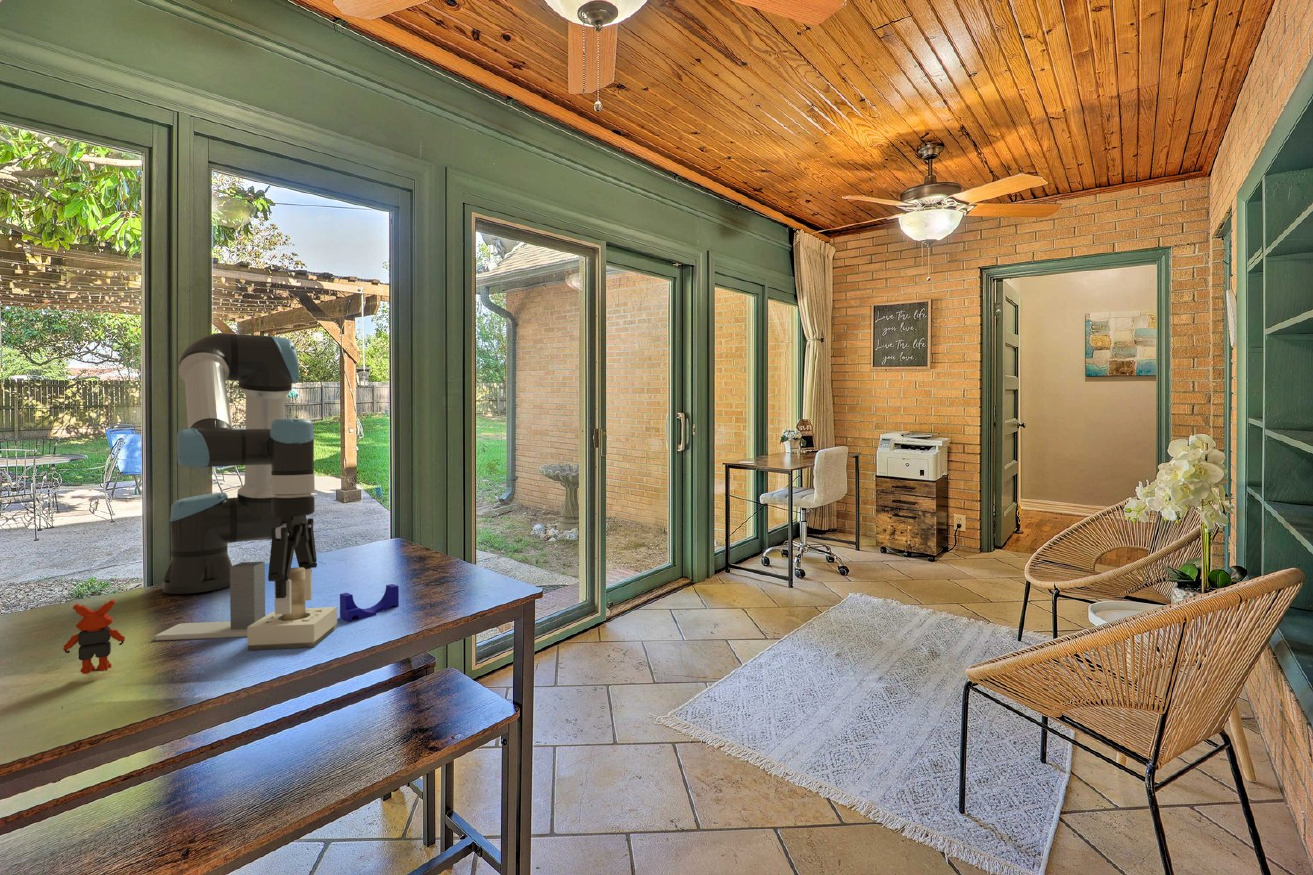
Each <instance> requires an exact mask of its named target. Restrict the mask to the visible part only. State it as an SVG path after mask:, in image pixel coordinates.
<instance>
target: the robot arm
mask: <svg viewBox="0 0 1313 875" xmlns="http://www.w3.org/2000/svg"><path fill="white" fill-rule="evenodd" d="M299 367H300V366H299V360H298V353H297V349H296V347H295V345H294V342H293V341H291V339H289V338H286V337H279V336H274V335H261V334H260V335H258V334H242V333H240V334H239V333H229V332H219V333H218V332H217V333H216V332H215V333H211V334H208V335H205V336H203V337H200V338H199V339H196V340H195V341H193V342H192V343H191V344H189V345H188V346H187V347H186V348H185V349H184V351H183V352H182V353H181V356H180V357H179V361H178V374H179V377H180V378H181V379H182V381H183V382H184V384H185V386H184V387H185V401H186V404H185V405H186V417H187V428H185V429H180V430H179V431H177V434H176V435H177V436H176V439H177V440H176V444H177V445H176V447H177V450H176V451H177V452H176V455H177V463H178V465H180V466H182V467H186V468H187V467H199V468H209V467H212V468H213V467H214V468H215V467H230V466H231V467H232V466H234V467H235V466H236V467H237V466H244V484H243V485H242V486H241V487H240V488H238V490H237V497H235V496H234V497H229V495H228V494H227V493H226V492H214V493H213V492H211V493H207V494H206V493H205V494H200V495H194V496H189V497H185V498H180V499H177V500H175V501H174V502H173V503H172V504H171V507H170V518H169V522H170V562H169V564H168V567H167V569H166V572H165V575H164V577H163V581H162V584H161V585H162V586H161V587H162V593H163V594H164V593H165V594H170V595H182V594H185V595H186V594H197V593H207V592H212V591H217V590H222V589H225V588H230V567H231V566H233V564H232V562H231V559H230V557H229V553H228V552H229V550H228V548H229V547H228V544H230V543H242V542H251V541H263V540H265V541H266V540H269V541H270V540H271V544H270V555H269V564H268V572H267V573H268V577H267V579H268V582H274V611H275V614H290V613H292V609H291V580H288V579H289V574H290V569H291V568H292V563H293V558H294V553H295V557H296V560H297V561H296V562H297V565H298V567H302V568H305V602H306V601H313V569H316V568H317V567H318V563H317V561H318V560H317V552H316V549H317V548H316V543H315V542H316V541H315V533H314V518H311V517H310V518H307V516H309V515H312V514H313V515H314V513H315V497H314V495H312V494H313V493H315V491H316V490H315V489H316V488H315V469H314V468H315V462H314V461H315V459H314V458H315V453H314V452H315V450H314V449H315V438H316V436H315V435H316V434H315V433H314V423H313V421H312V420H311V419H307V418H285V404H286V403H285V401H286V400H285V399H286V396H287V395H288V394H290V393H291V392H292V390H293V385H294V384H298V383H299V381H300V368H299ZM226 381H230V382H238V389H239V390H240V391H241V392H243V393H244V395H245V417H244V418H245V423H244V424H245V426H244V427H245V428H233V424H232V418H231V417H232V416H231V410H230V404H229V402H230V401H229V397H228V391H227V390H228V389H227V383H226Z"/></svg>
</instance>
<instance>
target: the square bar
mask: <svg viewBox="0 0 1313 875" xmlns="http://www.w3.org/2000/svg"><path fill="white" fill-rule="evenodd" d="M265 563H266V561H246V562H245V561H244V562H243V561H241V562H239V563H237V564H233V565H232V566H231V567H230V586H229V596H230V597H229V599H230V600H229V602H230V621H231V630H237V629H247V627H248V626H250V625H251V624H253V623H255V622H256V621H258V620H260V619H261V618H263V617H265V616H266V571H265V570H266V566H265Z"/></svg>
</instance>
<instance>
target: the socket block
mask: <svg viewBox="0 0 1313 875" xmlns="http://www.w3.org/2000/svg"><path fill="white" fill-rule="evenodd" d="M305 617H306V618H303V619H298V620H292V621H283V614H275V610H273V611H272V612H270V613H268V614H265V617H263V618H261V619H260V620H258V621H256V622H255V623H253V624H251V625H250V626H248V627H247V636H246V638H247V640H246V641H247V642H246V643H247V644H246V645H247V651H263V650H264V651H266V650H286V649H304V648H305V649H307V648H316V646H318V645H319V644H320V643H321V642H322V641H324V639H326V638H327V637H328V636H330V635H331V634H332V633H333V632H334V631H335V630H336V629H337V628H338V607H337V606H331V607H330V606H329V607H328V606H327V607H326V606H325V607H305Z"/></svg>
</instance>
